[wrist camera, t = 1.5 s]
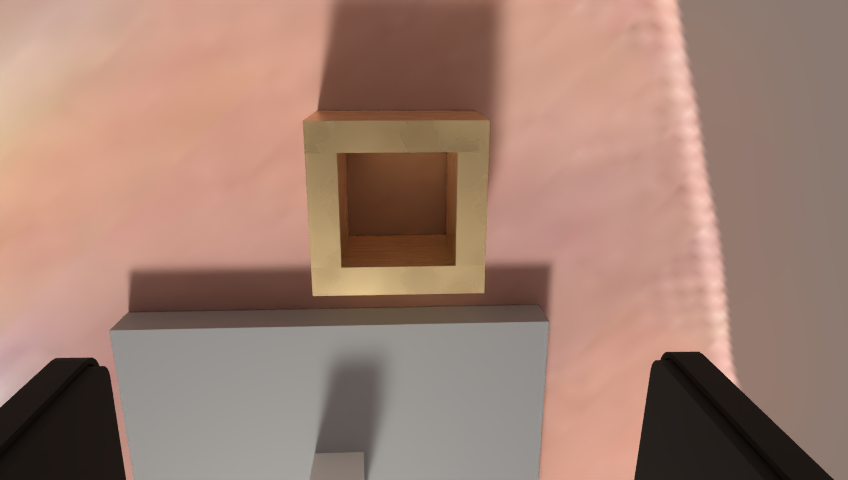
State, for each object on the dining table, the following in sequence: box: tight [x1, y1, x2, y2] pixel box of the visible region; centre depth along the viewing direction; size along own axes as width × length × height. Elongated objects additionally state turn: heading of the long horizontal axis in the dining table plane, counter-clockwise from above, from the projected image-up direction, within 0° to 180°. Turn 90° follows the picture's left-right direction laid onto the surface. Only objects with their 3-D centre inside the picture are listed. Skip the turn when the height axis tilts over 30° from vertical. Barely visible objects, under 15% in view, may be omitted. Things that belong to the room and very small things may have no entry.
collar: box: [303, 110, 490, 296], centre depth 26 cm, size 7×7×4 cm
